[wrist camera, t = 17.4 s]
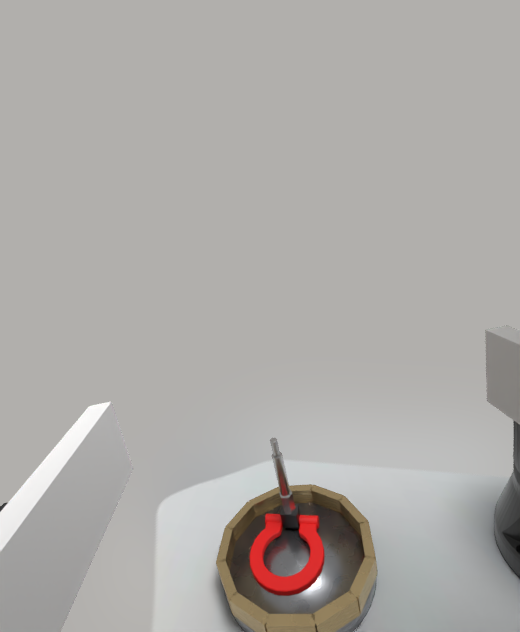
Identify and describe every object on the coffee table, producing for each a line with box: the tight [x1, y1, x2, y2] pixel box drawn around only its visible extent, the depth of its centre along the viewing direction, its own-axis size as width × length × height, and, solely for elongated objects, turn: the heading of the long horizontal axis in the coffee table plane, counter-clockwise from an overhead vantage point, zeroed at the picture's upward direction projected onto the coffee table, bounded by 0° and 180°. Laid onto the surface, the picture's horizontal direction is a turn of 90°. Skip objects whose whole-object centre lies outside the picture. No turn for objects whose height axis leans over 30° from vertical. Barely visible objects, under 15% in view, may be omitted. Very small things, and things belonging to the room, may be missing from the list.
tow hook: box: [250, 438, 325, 596], centre depth 39 cm, size 8×13×9 cm
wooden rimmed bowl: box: [216, 485, 377, 632], centre depth 40 cm, size 17×17×4 cm
